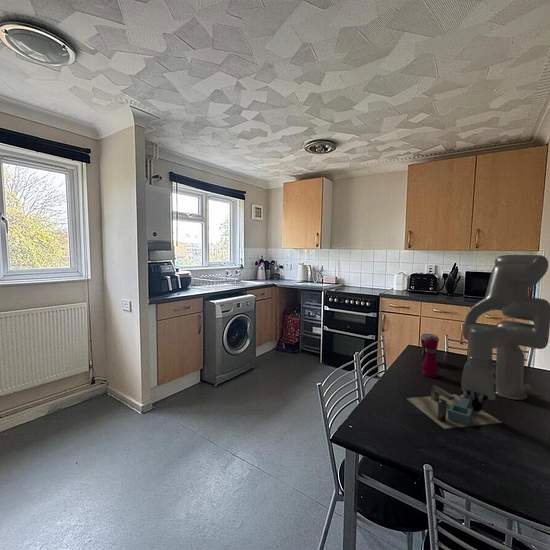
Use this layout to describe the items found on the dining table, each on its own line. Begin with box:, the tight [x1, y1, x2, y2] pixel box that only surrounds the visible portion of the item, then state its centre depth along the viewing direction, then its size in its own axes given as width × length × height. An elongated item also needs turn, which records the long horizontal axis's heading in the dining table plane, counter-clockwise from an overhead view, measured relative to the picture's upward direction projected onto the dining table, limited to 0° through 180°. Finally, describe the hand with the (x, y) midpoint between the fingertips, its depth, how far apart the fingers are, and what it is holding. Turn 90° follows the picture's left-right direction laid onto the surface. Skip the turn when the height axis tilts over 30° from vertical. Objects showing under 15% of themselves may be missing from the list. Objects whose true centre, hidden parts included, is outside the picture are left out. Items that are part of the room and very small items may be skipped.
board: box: [406, 384, 503, 430], centre depth 116 cm, size 23×22×7 cm
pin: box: [438, 399, 447, 422], centre depth 109 cm, size 3×3×7 cm
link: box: [448, 391, 472, 425], centre depth 114 cm, size 18×6×5 cm, turn 140°
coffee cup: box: [419, 333, 440, 362], centre depth 171 cm, size 10×10×15 cm
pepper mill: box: [421, 336, 439, 378], centre depth 152 cm, size 7×7×20 cm
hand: (476, 410), depth 113 cm, fingers closed
